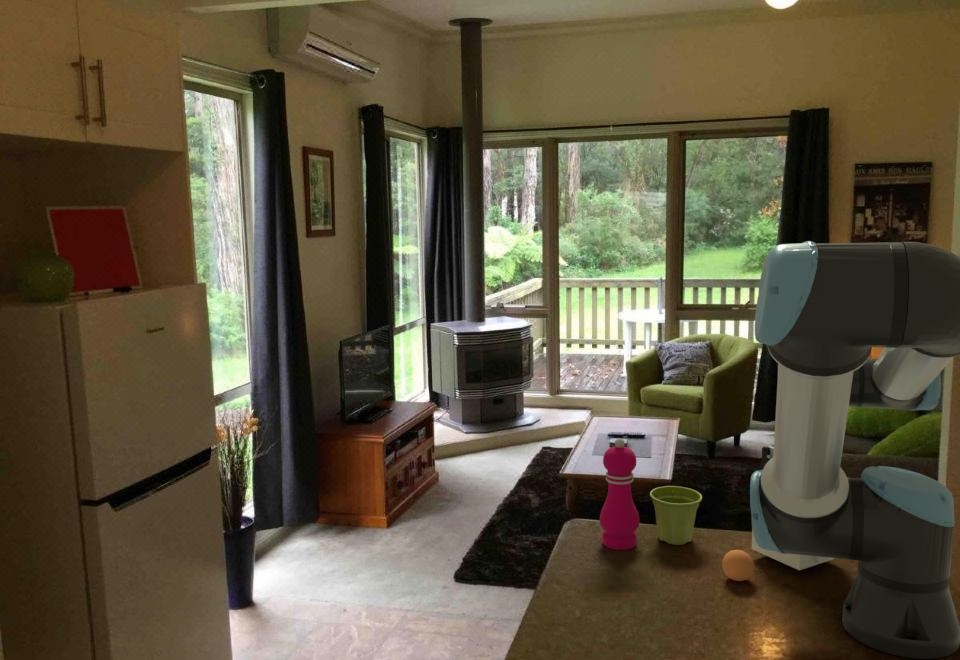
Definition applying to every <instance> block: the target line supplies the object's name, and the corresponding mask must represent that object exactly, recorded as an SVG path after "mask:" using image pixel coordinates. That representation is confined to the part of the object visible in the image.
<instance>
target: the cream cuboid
mask: <svg viewBox="0 0 960 660" xmlns="http://www.w3.org/2000/svg"><path fill="white" fill-rule="evenodd" d="M751 550H754V551H756V552H757V553H760V554H761V555H764V556H766V557H769V558H771V559H773V560H776V561H778V562H780V563H782V564H784V565H786V566H789V567H791V568H793V569H796V570H798V571H802V570H805V569H808V568H811V567H814V566H817V565H819V564H820V565H821V564H823V563H826V562H829V561H832V560H835V559H836V558H829V559H827V560H824V561H821V562H816V561H814V560H815V556H808V555H798V554H788V553H787V554H782V553H779V552H777V551H770V550H765V549H762V548H761V547H759V546H758V544H757V543H756V541H755V538H754V534H753V528H752V527H751Z"/></svg>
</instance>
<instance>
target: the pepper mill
mask: <svg viewBox="0 0 960 660" xmlns="http://www.w3.org/2000/svg"><path fill="white" fill-rule="evenodd" d="M625 443H626V442H625V441H624V439H622V438H617V439H616V440H614V446H612V447H611V446H610V447H609V448H608V449H607V450H606V451H605V452H604V454H603V457H602V464H603V466H604V468H605V469H606V470H607V471H606V472H605V476H606V477H605V481H607V485H608V490H607V494H606V495H607V496H606V498H605V501H604V503H603V506H602V508H601V511H600V515H599V524H600V526H601V528H602V529H603V532H602V535H601V536H602V537H601V539H602V540H601V541H602V542H601V543H602V544H603V546H605V547H606V548H607V549H610V550H611V549H612V550H616V551H617V550H618V551H625V550H631V549H634V548H635V547H636V546H637V545H638V543H637V541H638V540H637V538H638V537H637V536H638V535H637V533H636V532H635V531H637V530H638V528H639V527H640V516H639V515H640V514H639V511H638V509H637V507H636V505H635V503H634V500H633V495H632V483H633V482H634V472H633V471H634V470H635V468H636V466H637V457H636V454H635V453H634V451H633V450H632V449H631V448H629V447H628V446H627V447H626V446H625V445H626V444H625Z"/></svg>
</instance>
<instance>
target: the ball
mask: <svg viewBox="0 0 960 660" xmlns="http://www.w3.org/2000/svg"><path fill="white" fill-rule="evenodd" d="M721 567H722V570H723V573H724V574H725V575H726V576H727V578H729V579H731V580H733V581H734V582H735V581H736V582H743V581H747V580H748V579H749V578H751V576H752V575H753V573H754V570H755V563H754V560H753V558H752V557H751V555H750V554H749V553H747V552H746V551H744V550H741V549H732V550H729V551H728V552H726V553H725V555H724V556H723V558H722V562H721Z"/></svg>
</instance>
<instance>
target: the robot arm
mask: <svg viewBox="0 0 960 660" xmlns="http://www.w3.org/2000/svg"><path fill="white" fill-rule="evenodd" d="M760 274H761V275H760V279H759V284H758V294H757V295H758V296H757V301H756V305H755V307H756V308H755V309H756V310H755V316H754V336H755V340H756V342H757V343H759V344H764V345H766V347H767V350H768V352H769V355H770V356H771V358H772V359H773V360H774V361H775V362H776V363H777V385H776V404H775V421H774V438H773V439H774V440H773V444H770V445H766V446H763V447H762V448H761V461H760V465H759V468H758V470H755V471H754V472H753V473H752V474H751V476H750V482H749V483H750V485H749V498H750V499H749V504H750V505H749V506H750V513H751V515H750V516H751V529H752V528H753V534H754V538H755V541H756V543H757V544H758V546H759V547H761V548H762V549H765V550H770V551H777V552H779V553H782V554H787V553H788V554H798V555H808V556H815V560H814V561H816V562H821V561H824V560H827V559H829V558H835V559H839V560H842V559H843V560H849V561H850V560H851V561H857V562H858V563H857V574H856V575H855V578H854V581H853V582H852V585H851V586H850V589H849V592H848V594H847V596H846V599H845V600H844V602H843V606H842V615H841V616H842V618H841V621H842V626H843V628H844V630H845V631H846V632H847V633H848V634H849V635H850V636H851V637H852V638H854V639H855V640H857V642H860V643H862V644H863V645H866V646H868V647H869V648H872V649H874V650H877V651H880V652H883V653H886V654H889V655H893V656H896V657H897V656H898V657H902V658H909V659H920V660H932V659H940V658H941V659H942V658H946V657H947V656H951V655H953V654H954V653H955V652H956V651H958V650H959V648H960V622H959V619H958V616H957V611H956V608H955V604H954V601H953V598H952V596H951V591H950V575H951V565H952V564H951V562H952V547H953V536H954V535H953V533H954V527H955V524H956V520H955V506H954V504H955V502H954V501H955V499H954V497H953V494H952V492H951V491H950V490H949V489H948V488H947V486H946V485H944V484H943V483H941V482H940V481H938V480H936V479H934V478H932V477H930V476H927V475H924V474H922V473H919V472H915V471H912V470H907V469H905V468H901V467H900V468H899V467H894V466H893V467H892V466H885V465H878V466H873V465H872V466H868V467H865V468H864V470H863V471H862V473H860V478H858V477H847V474H846V473H845V471H844V470H843V468H842V467H841V464H842V463H841V462H842V455H843V451H844V450H843V448H844V443H845V442H844V441H845V435H846V427H847V420H848V412H849V408H872V409H886V410H887V409H889V410H904V411H909V412H912V411H914V412H915V411H931V410H934V409H935V408H936V407H937V406H938V404H939V399H940V397H941V390H942V381H941V379H942V378H941V372H942V371H943V370H944V368H946V367H947V365H948V364H949V362H951V360H952V359H953V358H955V357H959V356H960V256H959V255H957V254H955V253H954V252H951V250H948V249H945V248H943V247H940V246H937V245H933V244H929V243H923V242H919V241H900V242H896V241H895V242H887V241H886V242H841V243H840V242H839V243H838V242H837V243H836V242H834V243H833V242H831V243H829V242H828V243H824V242H823V243H816V242H814V241H811V240H806V241H803V242H801V243H800V242H799V243H798V242H797V243H780V244H778V245H775V246H774V247H773V248H771V249H770V251H768V252H767V253H766V256H765V259H764V262H763V264H762V269H761V273H760ZM872 348H882V350H881V353H880V354H879V355H878V358H870V357H871V353H872V350H873V349H872Z"/></svg>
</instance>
